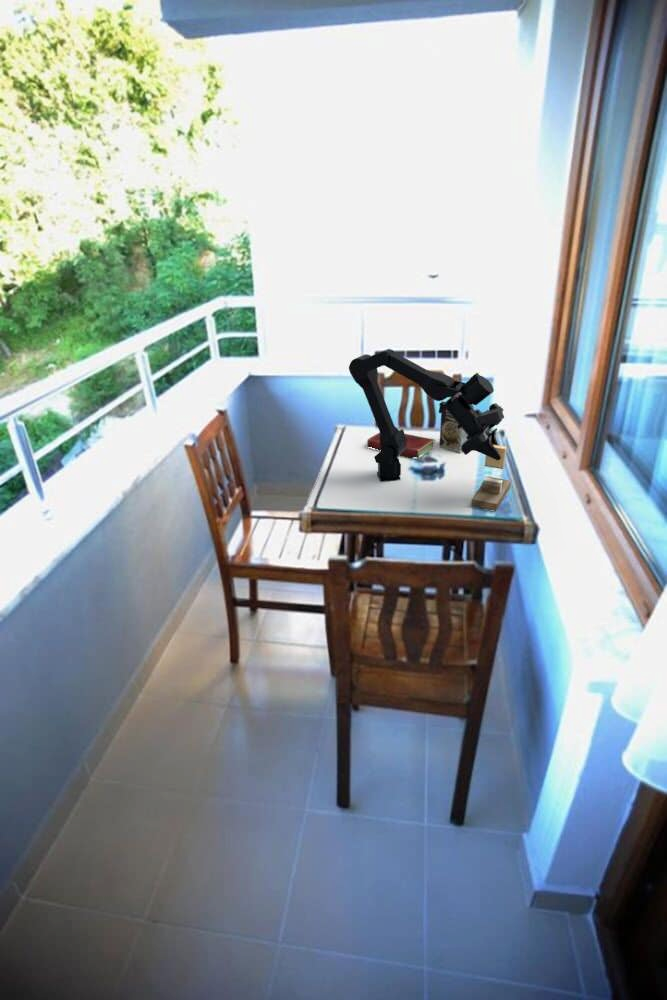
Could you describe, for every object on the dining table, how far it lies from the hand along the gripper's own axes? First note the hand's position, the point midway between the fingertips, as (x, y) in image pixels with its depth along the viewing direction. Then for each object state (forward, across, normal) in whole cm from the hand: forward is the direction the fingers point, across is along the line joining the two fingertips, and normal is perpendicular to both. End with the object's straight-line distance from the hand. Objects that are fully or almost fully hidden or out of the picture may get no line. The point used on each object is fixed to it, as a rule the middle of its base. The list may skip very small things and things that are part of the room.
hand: (500, 458), depth 140 cm
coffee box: (-7, +31, +25) cm, 41 cm away
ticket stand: (+8, 0, +10) cm, 13 cm away
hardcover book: (-19, +23, +38) cm, 48 cm away
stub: (+1, 0, +3) cm, 3 cm away
